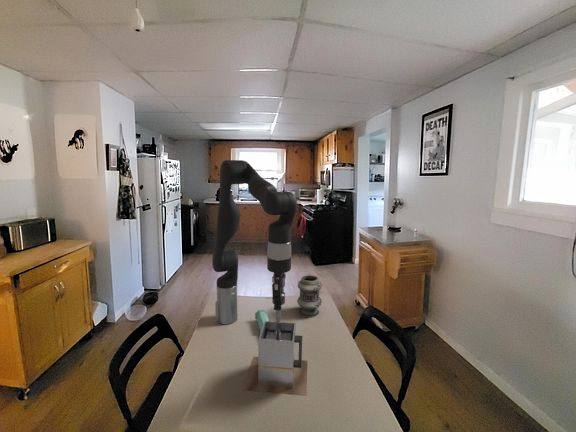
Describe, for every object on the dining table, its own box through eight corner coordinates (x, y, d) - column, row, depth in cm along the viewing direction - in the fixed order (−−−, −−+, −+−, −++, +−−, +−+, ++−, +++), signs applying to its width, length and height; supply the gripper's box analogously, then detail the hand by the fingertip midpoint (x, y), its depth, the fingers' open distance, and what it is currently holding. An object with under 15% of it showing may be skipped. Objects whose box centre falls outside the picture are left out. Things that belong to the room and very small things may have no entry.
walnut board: (242, 393, 87) (242, 390, 86) (253, 359, 102) (253, 356, 102) (306, 399, 85) (306, 395, 85) (307, 363, 101) (307, 360, 100)
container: (276, 338, 105) (264, 306, 129) (262, 346, 104) (252, 312, 128) (282, 350, 107) (269, 317, 131) (268, 358, 106) (257, 322, 130)
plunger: (263, 348, 88) (263, 298, 85) (267, 333, 96) (267, 287, 93) (289, 350, 87) (290, 300, 84) (291, 334, 95) (292, 288, 93)
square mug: (258, 385, 88) (258, 340, 86) (264, 361, 99) (264, 320, 97) (300, 389, 87) (301, 343, 84) (301, 364, 98) (303, 323, 96)
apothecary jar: (298, 305, 145) (299, 272, 142) (321, 307, 143) (322, 274, 140) (295, 317, 133) (296, 281, 130) (320, 319, 131) (322, 283, 128)
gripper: (270, 248, 94) (270, 295, 97) (263, 261, 80) (263, 316, 83) (292, 249, 93) (291, 297, 96) (289, 263, 79) (288, 318, 82)
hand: (278, 305), depth 89 cm, fingers closed on plunger, 4 cm apart
